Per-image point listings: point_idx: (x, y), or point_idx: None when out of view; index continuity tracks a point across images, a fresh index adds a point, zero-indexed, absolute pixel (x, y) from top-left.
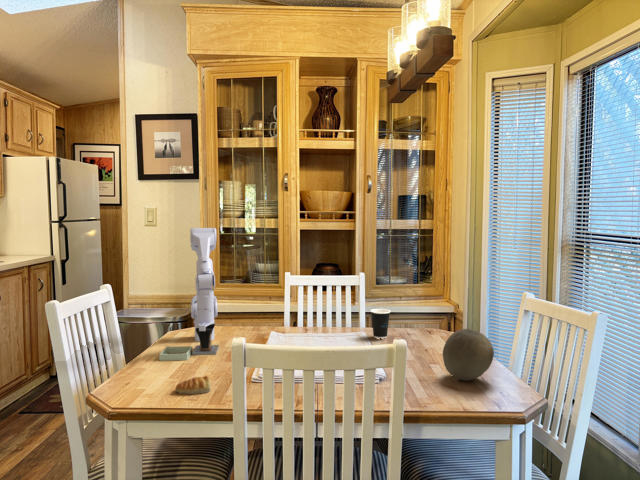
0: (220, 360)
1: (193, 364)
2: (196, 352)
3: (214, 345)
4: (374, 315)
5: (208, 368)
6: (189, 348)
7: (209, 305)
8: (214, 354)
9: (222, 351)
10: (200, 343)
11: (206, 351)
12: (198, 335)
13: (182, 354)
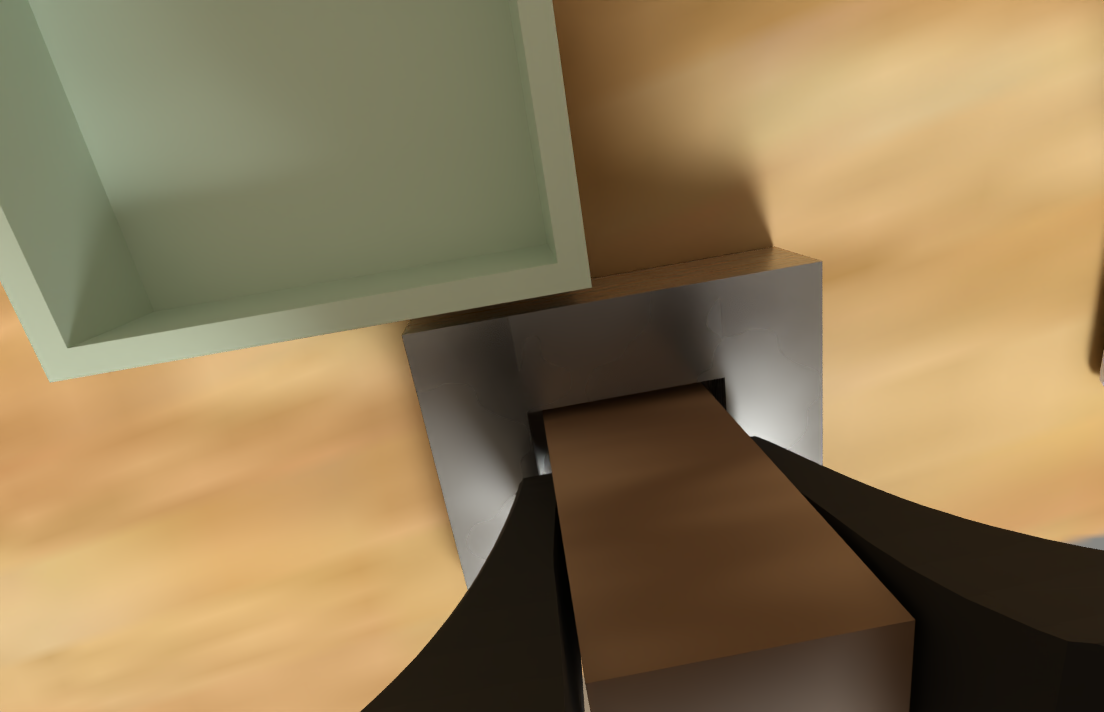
0: (375, 680)
1: (123, 438)
2: (423, 403)
3: None
4: None
5: (39, 658)
6: (426, 286)
7: None
8: None
9: None
10: (507, 518)
11: (468, 547)
12: (408, 668)
13: (9, 289)
